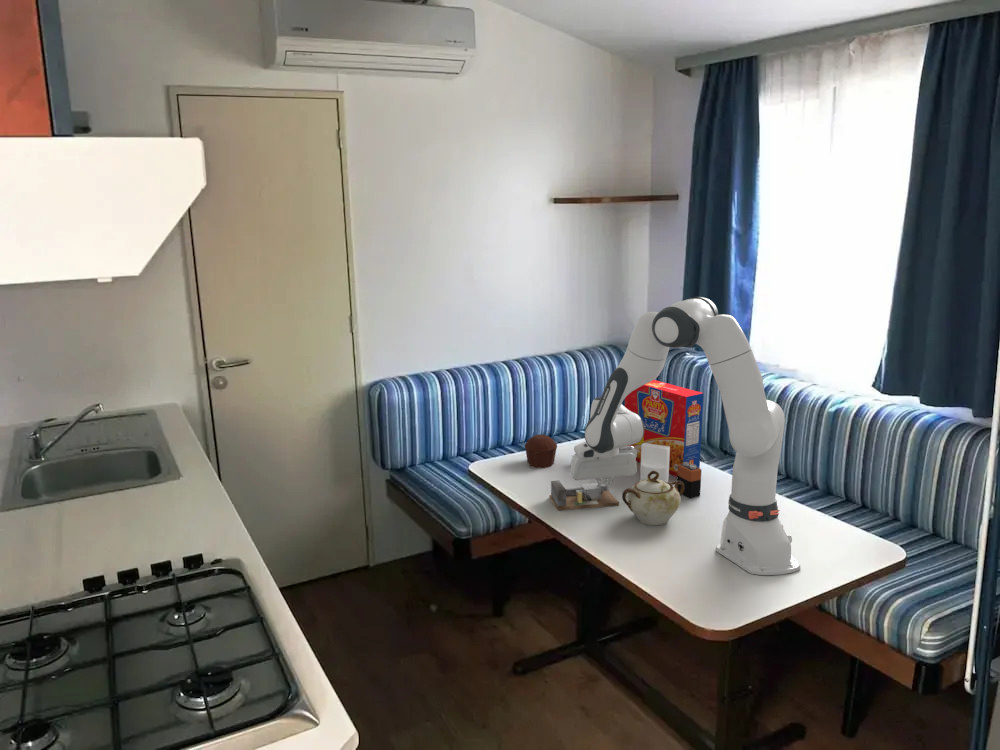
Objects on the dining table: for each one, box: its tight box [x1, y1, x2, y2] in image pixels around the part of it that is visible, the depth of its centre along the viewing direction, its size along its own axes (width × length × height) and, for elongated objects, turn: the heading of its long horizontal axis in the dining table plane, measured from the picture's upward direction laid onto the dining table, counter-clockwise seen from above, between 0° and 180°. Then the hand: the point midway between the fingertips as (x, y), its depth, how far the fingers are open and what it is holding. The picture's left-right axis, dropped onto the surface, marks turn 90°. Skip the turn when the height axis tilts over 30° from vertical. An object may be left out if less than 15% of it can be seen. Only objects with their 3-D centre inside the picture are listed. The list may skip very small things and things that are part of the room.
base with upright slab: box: [639, 443, 670, 483], centre depth 261 cm, size 9×9×12 cm
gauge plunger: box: [576, 482, 601, 501], centre depth 244 cm, size 7×7×4 cm
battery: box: [676, 462, 702, 499], centre depth 250 cm, size 4×7×10 cm, turn 25°
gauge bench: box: [548, 480, 620, 511], centre depth 246 cm, size 19×10×6 cm, turn 101°
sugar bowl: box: [621, 471, 685, 526], centre depth 231 cm, size 20×15×15 cm
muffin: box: [524, 434, 558, 469], centre depth 279 cm, size 12×11×10 cm
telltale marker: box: [577, 492, 582, 503], centre depth 241 cm, size 1×2×3 cm, turn 11°
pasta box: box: [624, 379, 705, 478], centre depth 274 cm, size 28×8×28 cm, turn 35°
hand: (603, 490), depth 247 cm, fingers closed
